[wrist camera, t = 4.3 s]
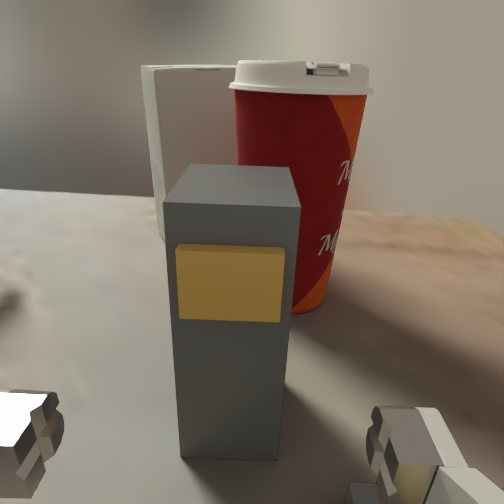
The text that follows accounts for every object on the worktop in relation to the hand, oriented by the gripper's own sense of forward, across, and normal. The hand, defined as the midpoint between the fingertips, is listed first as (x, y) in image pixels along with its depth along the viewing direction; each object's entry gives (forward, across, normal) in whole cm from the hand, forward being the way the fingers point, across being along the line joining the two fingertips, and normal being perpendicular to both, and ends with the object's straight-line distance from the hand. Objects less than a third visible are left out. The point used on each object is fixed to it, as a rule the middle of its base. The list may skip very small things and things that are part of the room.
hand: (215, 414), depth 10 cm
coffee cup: (+17, -3, +7) cm, 18 cm away
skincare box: (+26, +4, +7) cm, 27 cm away
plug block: (+6, 0, +6) cm, 9 cm away
